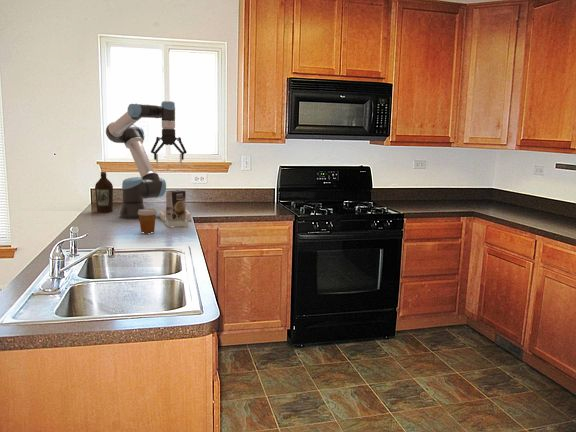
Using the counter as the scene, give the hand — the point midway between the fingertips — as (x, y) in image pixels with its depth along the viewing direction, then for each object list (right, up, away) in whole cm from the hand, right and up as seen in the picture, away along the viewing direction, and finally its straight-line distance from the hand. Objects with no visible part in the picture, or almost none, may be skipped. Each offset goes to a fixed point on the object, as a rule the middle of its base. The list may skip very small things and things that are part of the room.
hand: (169, 165), depth 289 cm
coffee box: (+7, -32, -12) cm, 34 cm away
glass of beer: (-3, -38, -34) cm, 51 cm away
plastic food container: (+2, -31, +8) cm, 32 cm away
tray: (+7, -34, -11) cm, 37 cm away
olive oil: (-47, -27, +25) cm, 59 cm away
